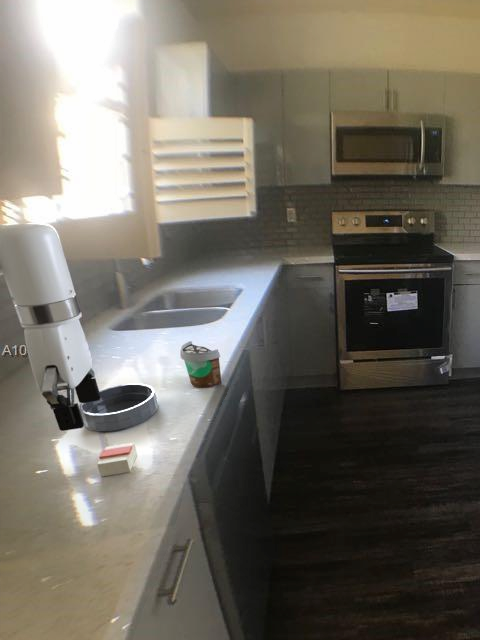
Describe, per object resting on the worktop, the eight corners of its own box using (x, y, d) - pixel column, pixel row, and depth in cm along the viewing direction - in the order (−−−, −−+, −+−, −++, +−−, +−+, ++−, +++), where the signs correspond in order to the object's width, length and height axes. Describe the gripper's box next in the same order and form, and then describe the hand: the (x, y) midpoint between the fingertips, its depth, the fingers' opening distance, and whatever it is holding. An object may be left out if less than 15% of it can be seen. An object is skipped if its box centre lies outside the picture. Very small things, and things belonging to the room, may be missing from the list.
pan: (75, 438, 97) (69, 419, 95) (96, 405, 110) (91, 388, 109) (152, 426, 101) (147, 408, 99) (163, 396, 114) (159, 380, 112)
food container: (176, 382, 121) (168, 347, 117) (196, 374, 126) (190, 340, 122) (204, 394, 115) (197, 357, 111) (225, 385, 119) (219, 349, 115)
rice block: (100, 477, 85) (96, 462, 83) (109, 458, 90) (105, 444, 89) (130, 471, 86) (126, 457, 85) (137, 454, 91) (133, 440, 90)
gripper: (43, 298, 74) (73, 393, 81) (-10, 333, 59) (33, 447, 65) (95, 294, 76) (120, 387, 82) (57, 326, 60) (92, 438, 67)
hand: (82, 413), depth 74 cm, fingers open, 8 cm apart
